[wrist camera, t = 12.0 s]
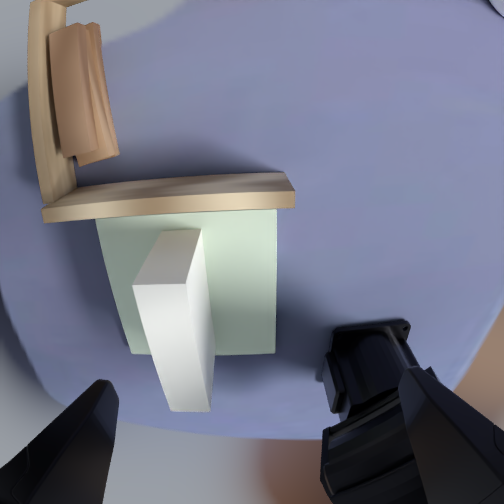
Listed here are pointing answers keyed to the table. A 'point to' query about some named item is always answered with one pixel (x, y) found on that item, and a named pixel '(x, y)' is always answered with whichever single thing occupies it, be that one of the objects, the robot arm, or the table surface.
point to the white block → (178, 318)
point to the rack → (132, 192)
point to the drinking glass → (498, 6)
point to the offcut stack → (81, 94)
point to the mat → (217, 268)
